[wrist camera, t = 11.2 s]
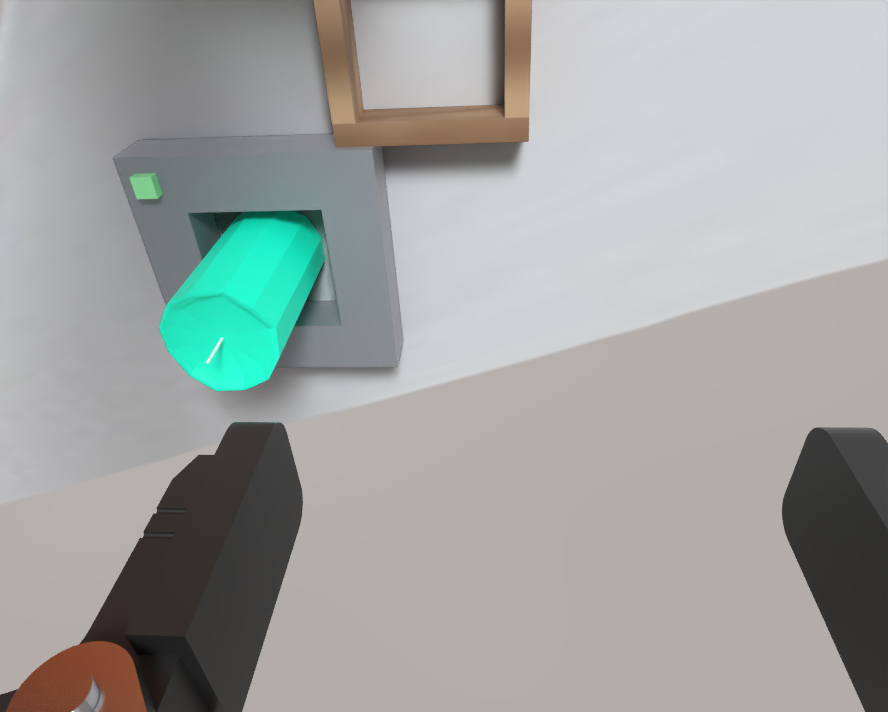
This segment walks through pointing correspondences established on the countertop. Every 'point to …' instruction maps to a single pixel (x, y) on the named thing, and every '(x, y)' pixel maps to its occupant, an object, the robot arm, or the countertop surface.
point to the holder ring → (432, 121)
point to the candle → (244, 299)
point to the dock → (278, 189)
